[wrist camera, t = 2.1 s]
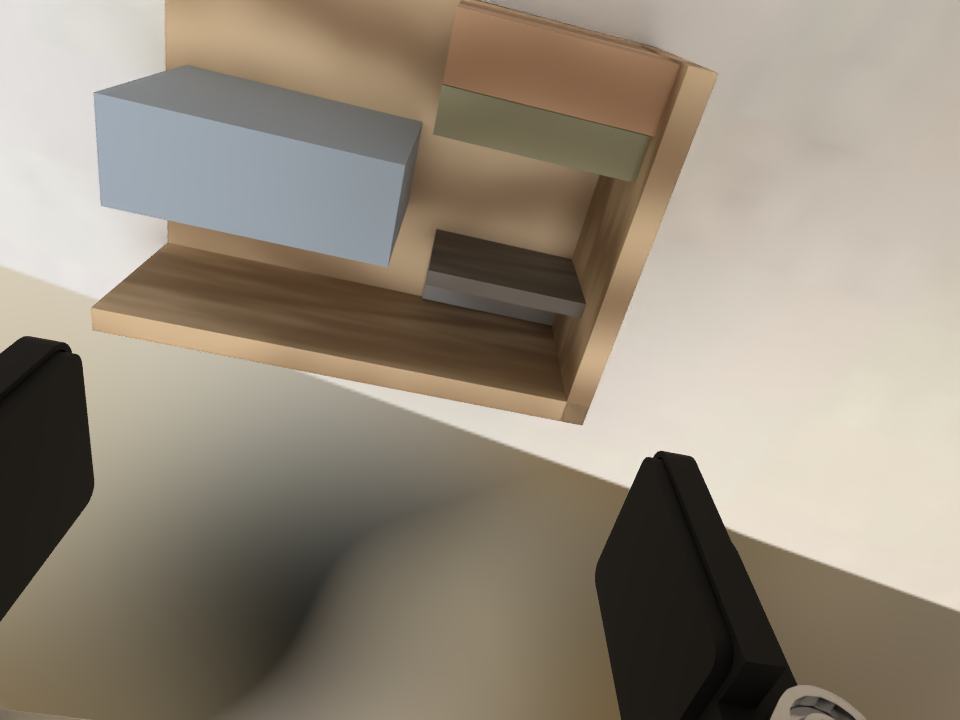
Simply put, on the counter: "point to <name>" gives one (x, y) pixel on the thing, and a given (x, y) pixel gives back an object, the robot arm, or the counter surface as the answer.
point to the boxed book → (256, 161)
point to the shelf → (440, 201)
